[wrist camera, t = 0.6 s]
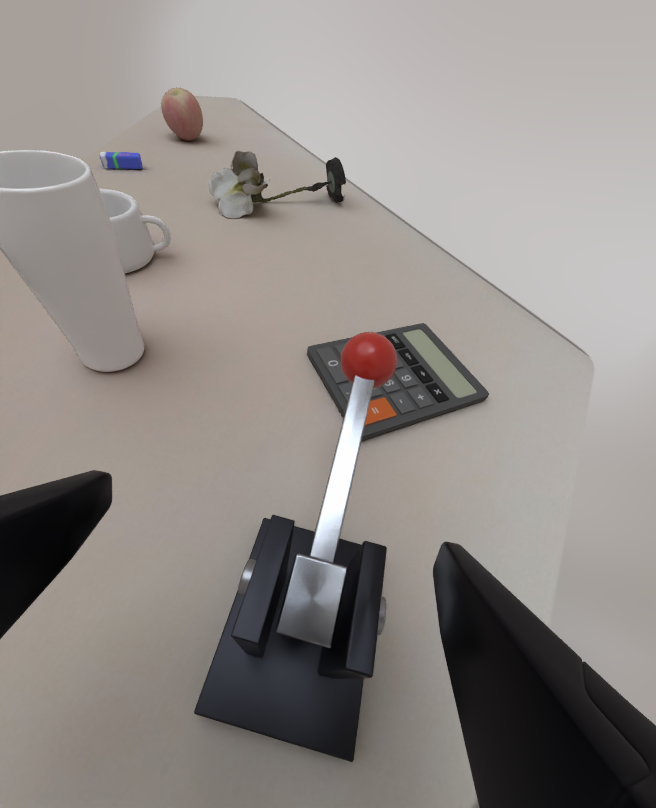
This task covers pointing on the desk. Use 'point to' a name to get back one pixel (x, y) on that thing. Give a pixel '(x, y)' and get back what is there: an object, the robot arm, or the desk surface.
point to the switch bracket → (296, 648)
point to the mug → (132, 230)
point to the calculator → (404, 380)
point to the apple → (182, 113)
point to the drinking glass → (68, 254)
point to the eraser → (120, 160)
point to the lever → (335, 501)
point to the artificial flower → (260, 185)
